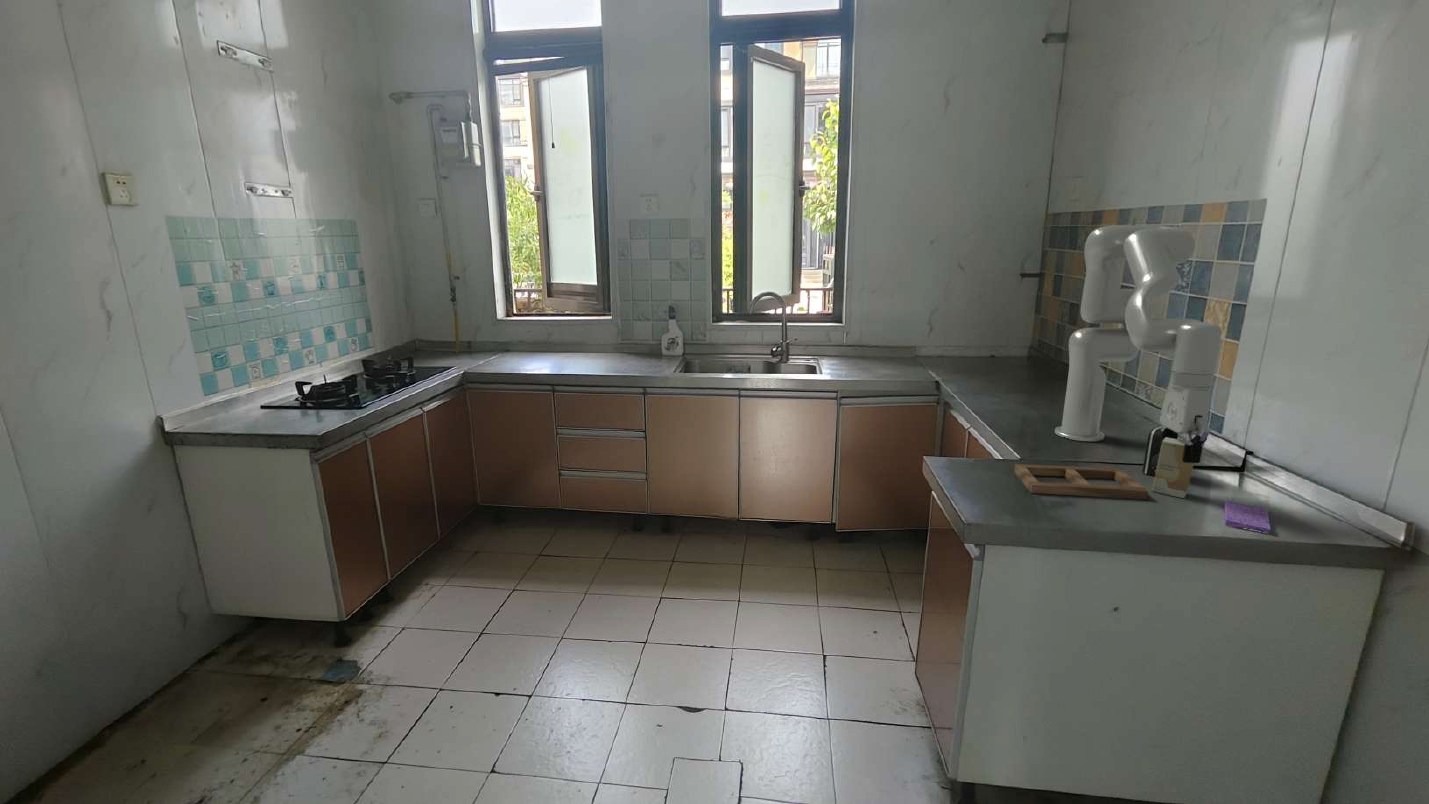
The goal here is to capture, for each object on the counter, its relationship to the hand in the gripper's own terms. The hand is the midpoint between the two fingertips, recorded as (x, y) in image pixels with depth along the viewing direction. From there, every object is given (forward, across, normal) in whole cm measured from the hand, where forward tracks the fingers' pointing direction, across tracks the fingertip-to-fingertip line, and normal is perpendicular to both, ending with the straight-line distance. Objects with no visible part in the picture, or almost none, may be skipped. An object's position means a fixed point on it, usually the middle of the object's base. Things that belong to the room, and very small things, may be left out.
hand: (1178, 455), depth 140 cm
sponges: (+10, +12, +8) cm, 18 cm away
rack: (+9, -3, -19) cm, 21 cm away
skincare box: (+9, -1, 0) cm, 9 cm away
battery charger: (+9, -14, +3) cm, 17 cm away
